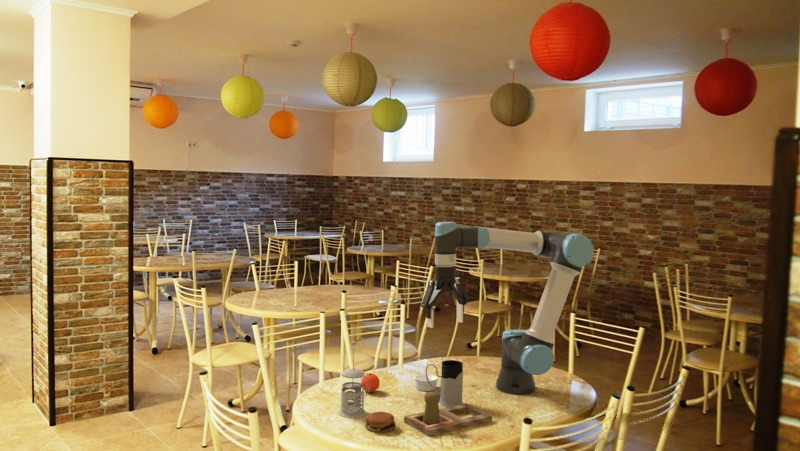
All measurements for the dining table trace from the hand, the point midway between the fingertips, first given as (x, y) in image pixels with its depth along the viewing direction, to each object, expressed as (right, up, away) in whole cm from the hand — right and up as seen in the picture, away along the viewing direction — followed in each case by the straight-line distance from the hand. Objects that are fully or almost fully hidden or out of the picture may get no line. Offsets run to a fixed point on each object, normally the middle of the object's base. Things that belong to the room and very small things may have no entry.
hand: (445, 324), depth 230 cm
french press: (-32, -29, -8) cm, 44 cm away
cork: (-6, -30, -19) cm, 36 cm away
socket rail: (0, -30, -15) cm, 34 cm away
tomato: (-28, -28, +15) cm, 42 cm away
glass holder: (0, -29, +4) cm, 29 cm away
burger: (-23, -30, -22) cm, 44 cm away
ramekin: (-6, -28, +20) cm, 35 cm away
